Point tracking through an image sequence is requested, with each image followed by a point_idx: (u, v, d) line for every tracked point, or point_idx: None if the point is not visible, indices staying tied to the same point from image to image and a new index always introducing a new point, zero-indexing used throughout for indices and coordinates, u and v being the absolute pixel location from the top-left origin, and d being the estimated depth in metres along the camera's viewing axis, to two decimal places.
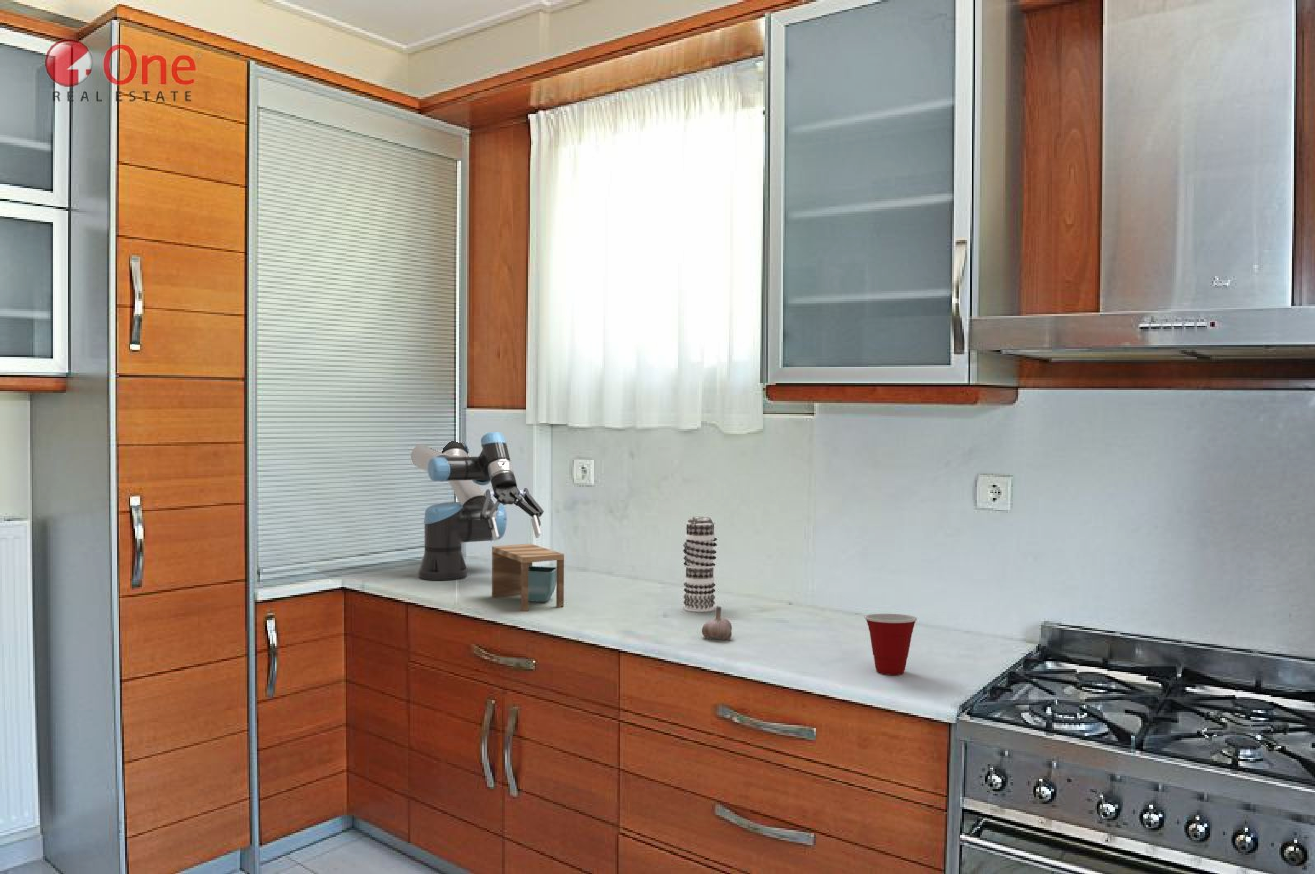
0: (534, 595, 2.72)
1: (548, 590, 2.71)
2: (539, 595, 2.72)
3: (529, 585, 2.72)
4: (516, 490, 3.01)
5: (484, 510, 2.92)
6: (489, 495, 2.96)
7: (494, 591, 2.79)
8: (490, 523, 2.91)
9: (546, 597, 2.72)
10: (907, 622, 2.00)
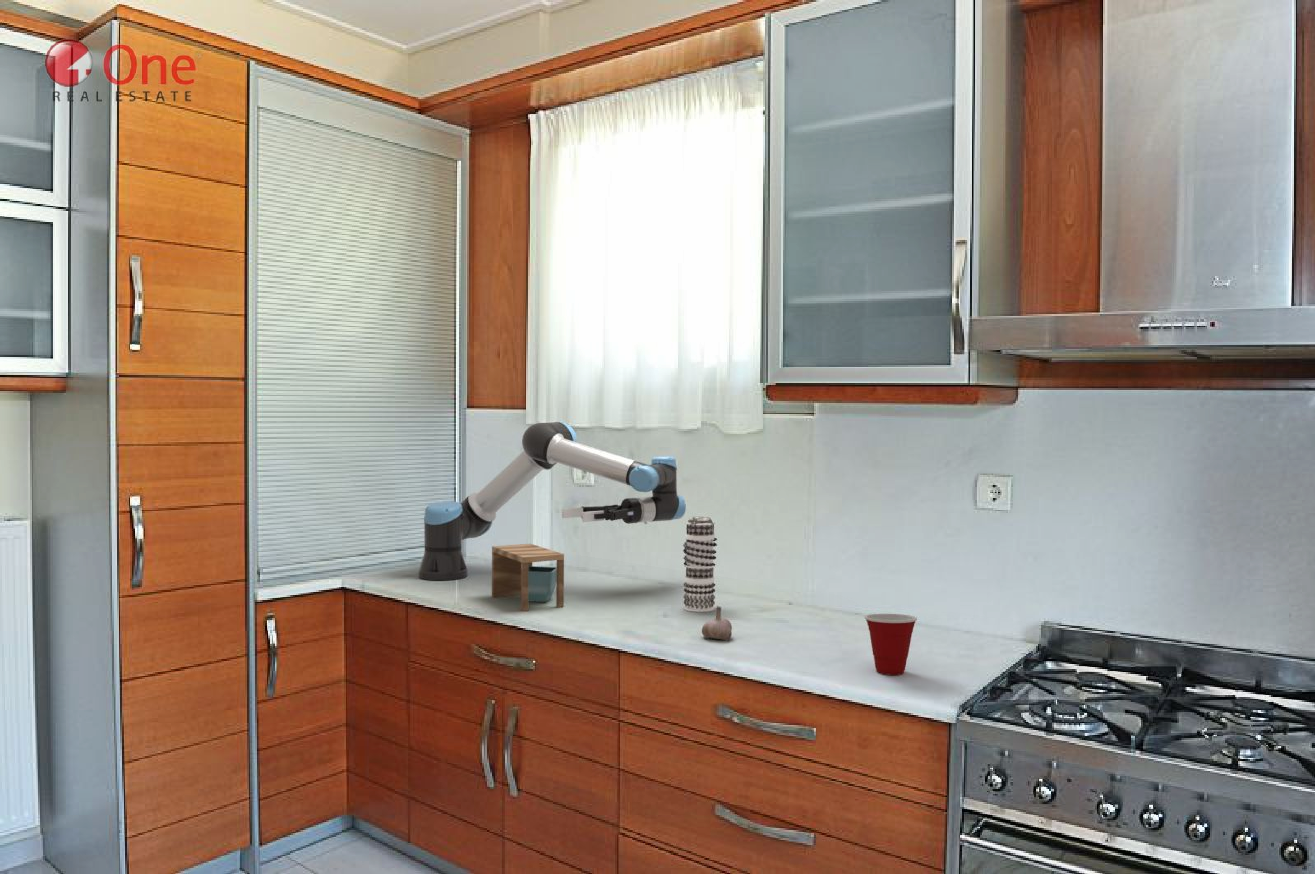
0: (534, 595, 2.72)
1: (548, 590, 2.71)
2: (539, 595, 2.72)
3: (529, 585, 2.72)
4: None
5: (614, 519, 2.77)
6: (626, 517, 2.82)
7: (494, 591, 2.79)
8: (599, 518, 2.76)
9: (546, 597, 2.72)
10: (907, 622, 2.00)
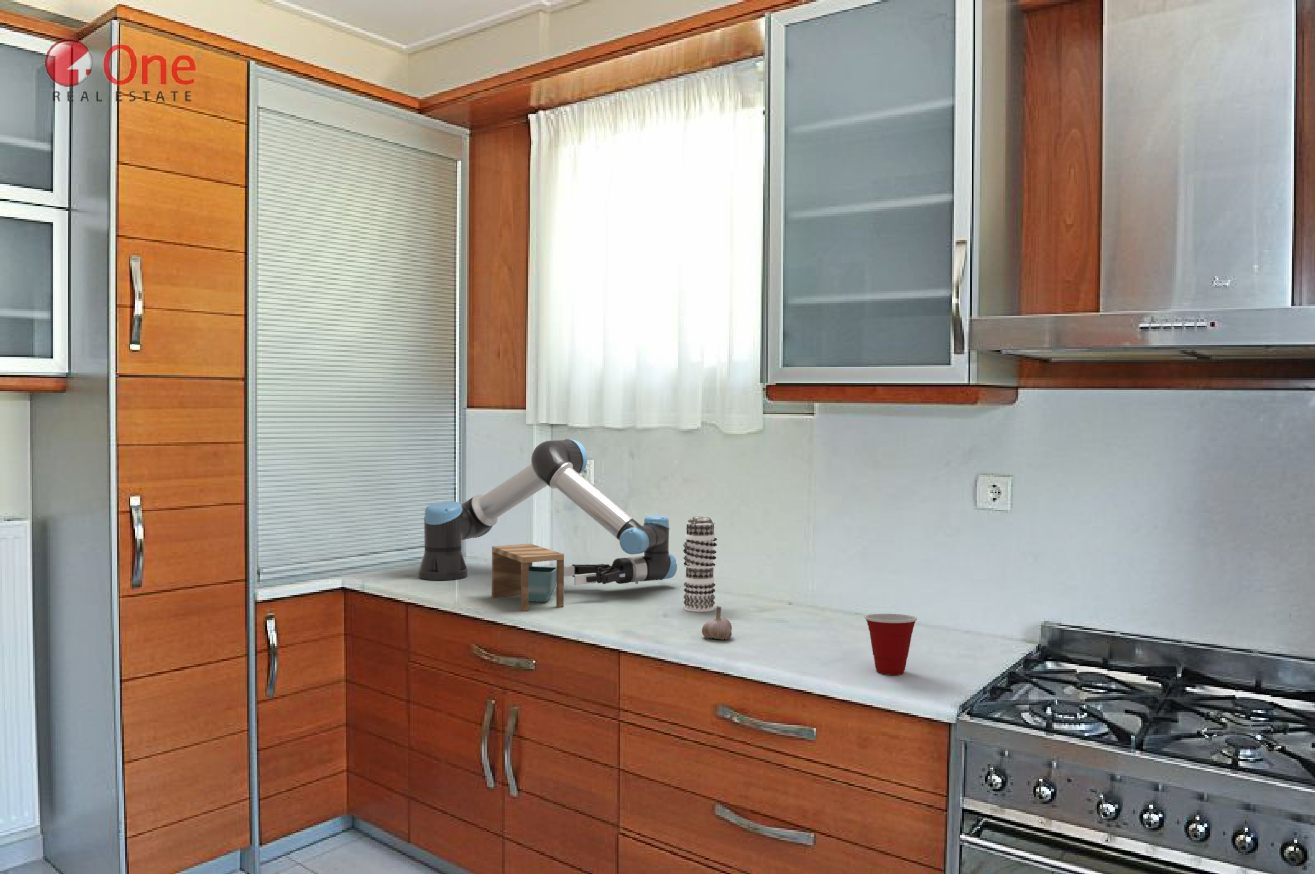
0: (534, 595, 2.72)
1: (548, 590, 2.71)
2: (539, 595, 2.72)
3: (529, 585, 2.72)
4: None
5: (606, 582, 2.76)
6: None
7: (494, 591, 2.79)
8: None
9: (546, 597, 2.72)
10: (907, 622, 2.00)
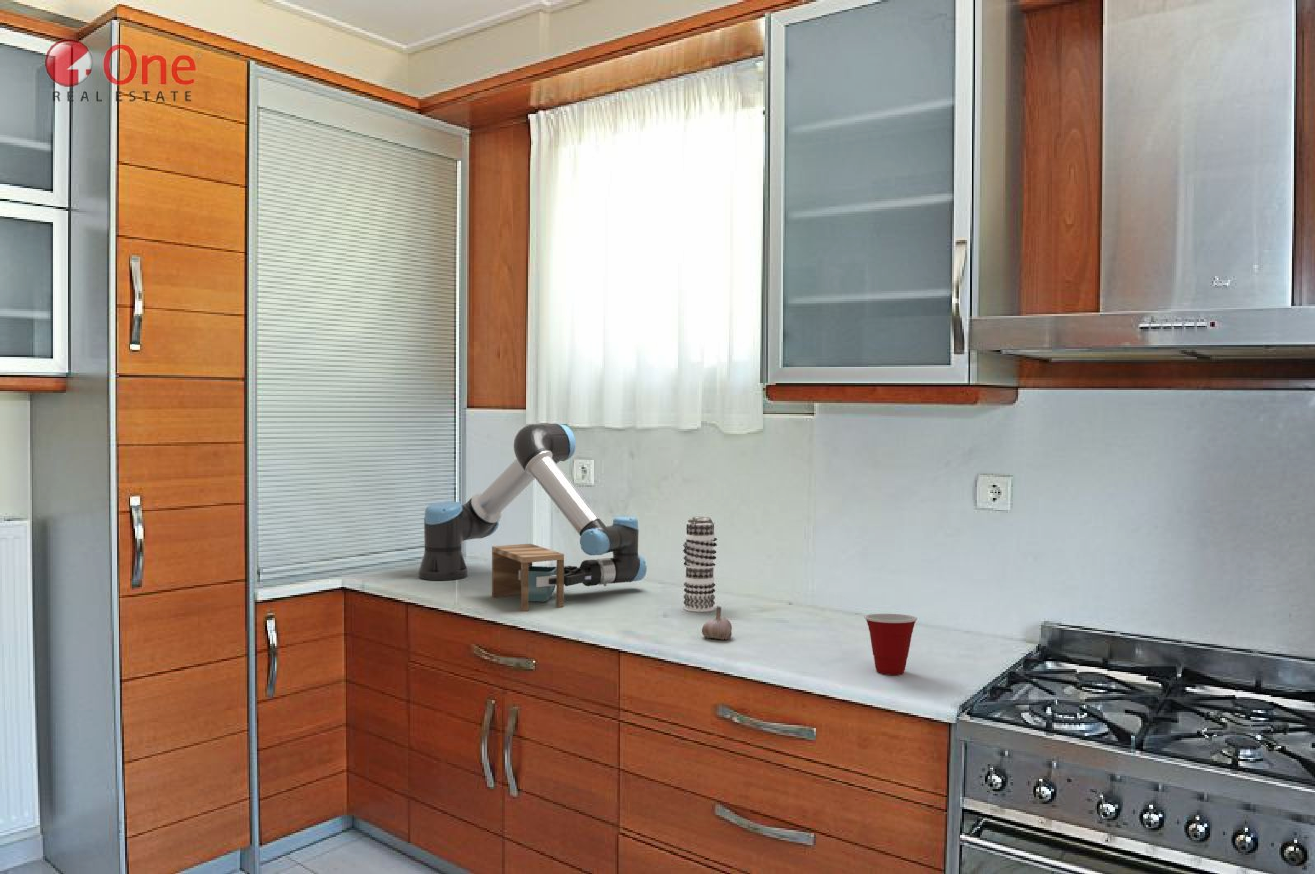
0: (534, 595, 2.72)
1: (548, 590, 2.71)
2: (539, 595, 2.72)
3: (528, 585, 2.72)
4: None
5: (570, 584, 2.71)
6: None
7: (494, 591, 2.79)
8: None
9: (546, 597, 2.72)
10: (907, 622, 2.00)
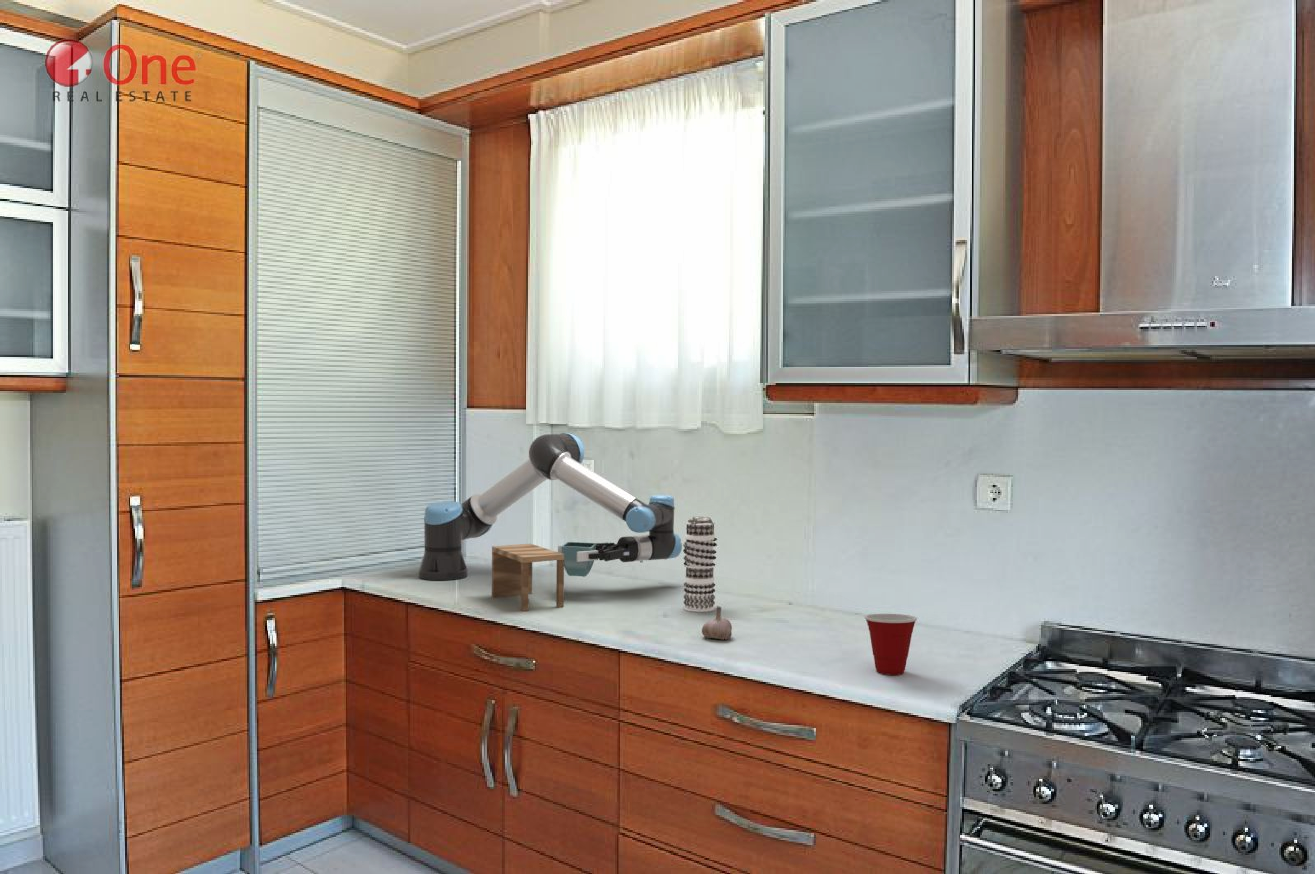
0: (573, 570, 2.78)
1: (587, 565, 2.77)
2: (578, 570, 2.78)
3: (568, 560, 2.78)
4: None
5: None
6: None
7: (494, 591, 2.79)
8: None
9: (585, 572, 2.78)
10: (907, 622, 2.00)
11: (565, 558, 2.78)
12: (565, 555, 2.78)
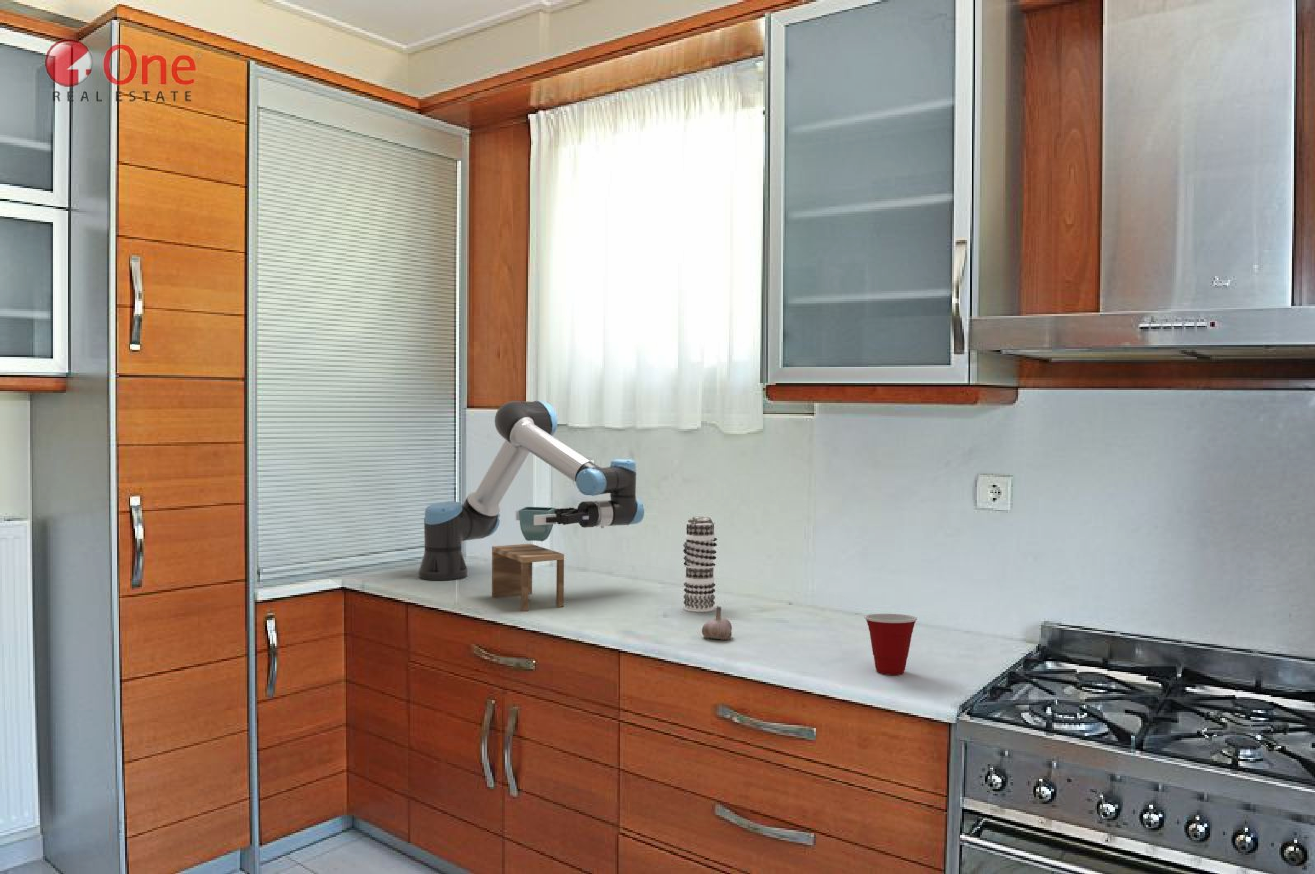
0: (531, 534, 2.71)
1: (545, 529, 2.70)
2: (536, 534, 2.71)
3: (526, 524, 2.70)
4: None
5: (567, 523, 2.70)
6: None
7: (494, 591, 2.79)
8: None
9: (543, 536, 2.71)
10: (907, 622, 2.00)
11: (522, 522, 2.70)
12: (522, 519, 2.70)
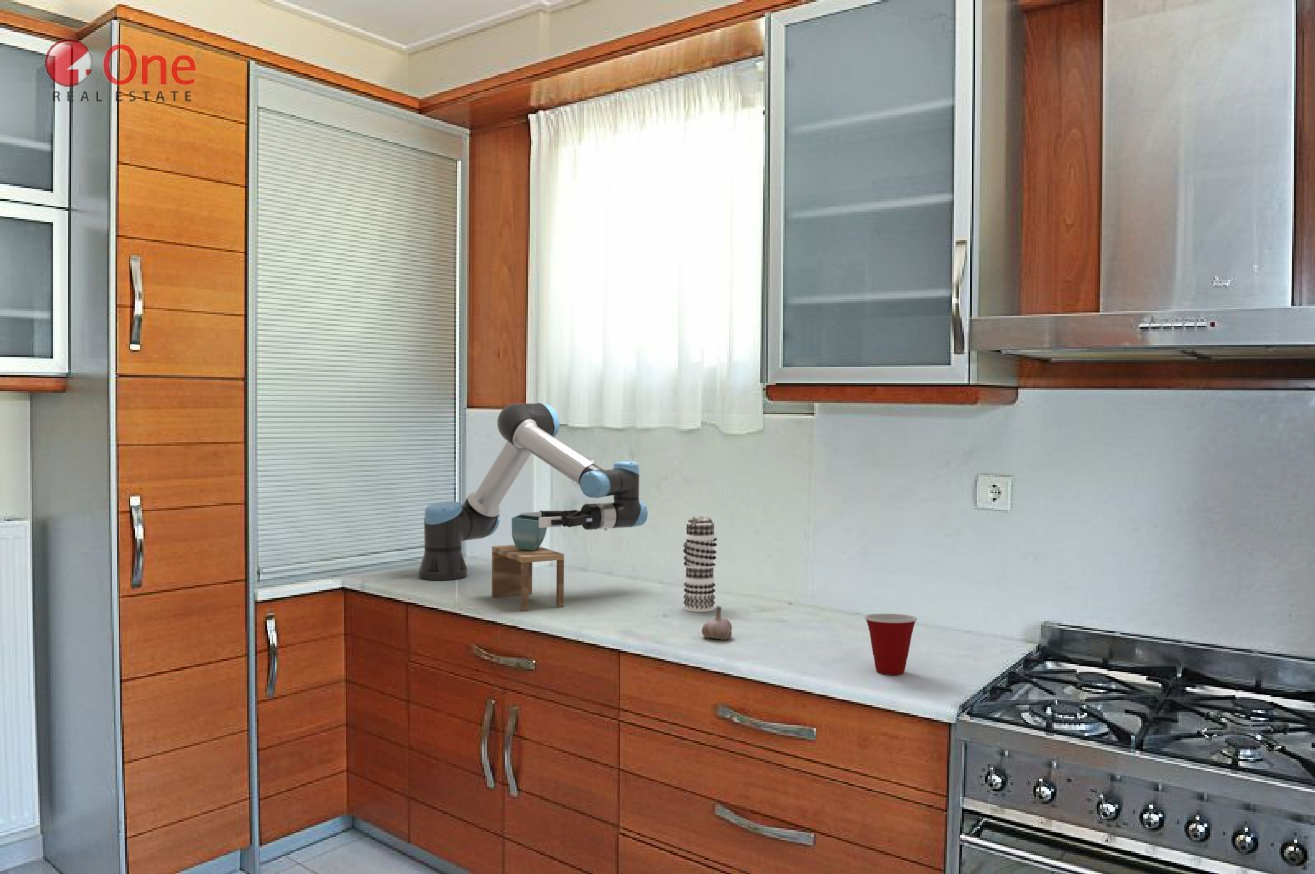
0: (522, 543, 2.71)
1: (536, 539, 2.70)
2: (527, 543, 2.70)
3: (517, 532, 2.70)
4: None
5: (572, 526, 2.70)
6: None
7: (494, 591, 2.79)
8: (556, 524, 2.69)
9: (534, 546, 2.70)
10: (907, 622, 2.00)
11: (514, 531, 2.70)
12: (514, 527, 2.70)
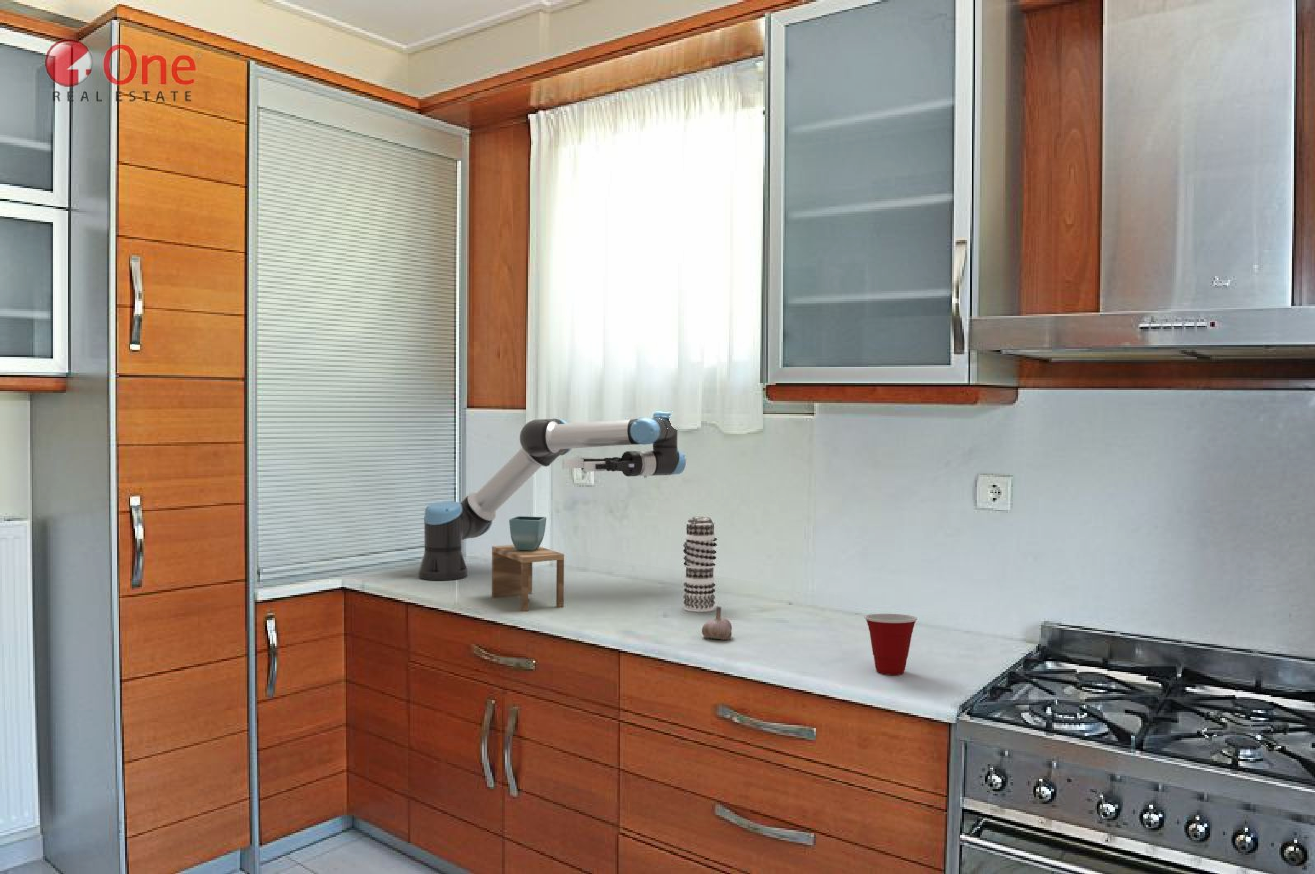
0: (522, 544, 2.71)
1: (535, 539, 2.70)
2: (527, 544, 2.70)
3: (516, 534, 2.70)
4: None
5: (616, 470, 2.77)
6: (627, 469, 2.82)
7: (494, 591, 2.79)
8: (601, 468, 2.76)
9: (534, 546, 2.70)
10: (907, 622, 2.00)
11: (512, 532, 2.70)
12: (513, 529, 2.70)
